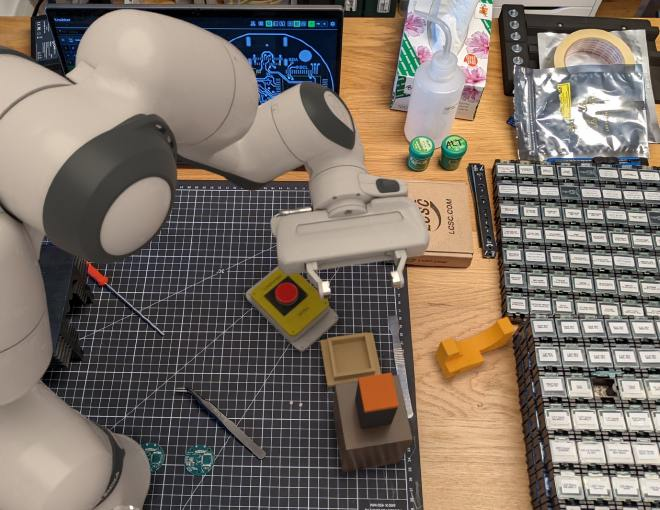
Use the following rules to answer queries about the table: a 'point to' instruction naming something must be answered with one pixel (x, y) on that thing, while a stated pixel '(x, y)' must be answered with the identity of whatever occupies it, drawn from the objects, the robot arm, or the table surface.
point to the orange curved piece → (472, 348)
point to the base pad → (349, 358)
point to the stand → (368, 432)
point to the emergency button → (292, 307)
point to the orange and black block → (376, 400)
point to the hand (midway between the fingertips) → (362, 291)
